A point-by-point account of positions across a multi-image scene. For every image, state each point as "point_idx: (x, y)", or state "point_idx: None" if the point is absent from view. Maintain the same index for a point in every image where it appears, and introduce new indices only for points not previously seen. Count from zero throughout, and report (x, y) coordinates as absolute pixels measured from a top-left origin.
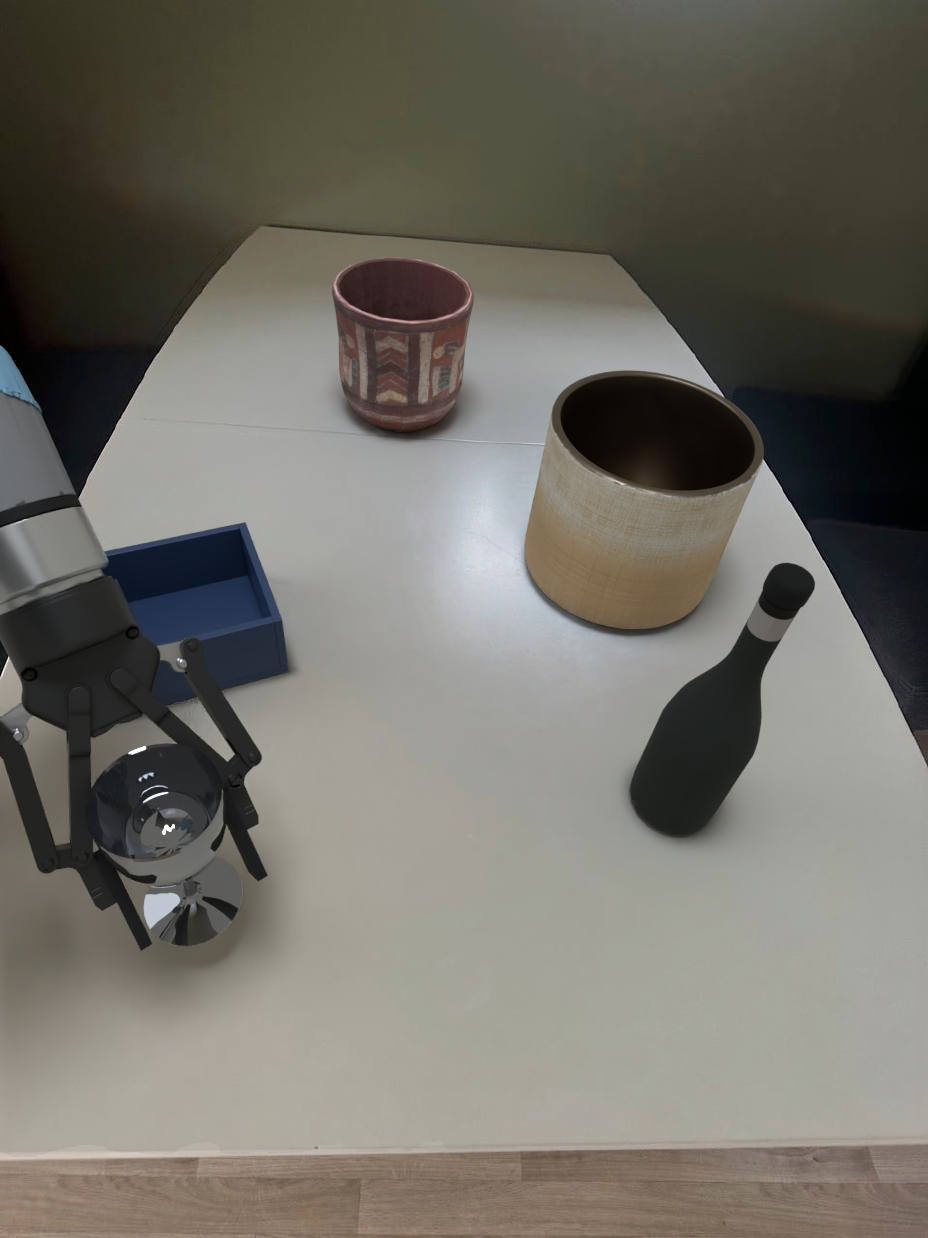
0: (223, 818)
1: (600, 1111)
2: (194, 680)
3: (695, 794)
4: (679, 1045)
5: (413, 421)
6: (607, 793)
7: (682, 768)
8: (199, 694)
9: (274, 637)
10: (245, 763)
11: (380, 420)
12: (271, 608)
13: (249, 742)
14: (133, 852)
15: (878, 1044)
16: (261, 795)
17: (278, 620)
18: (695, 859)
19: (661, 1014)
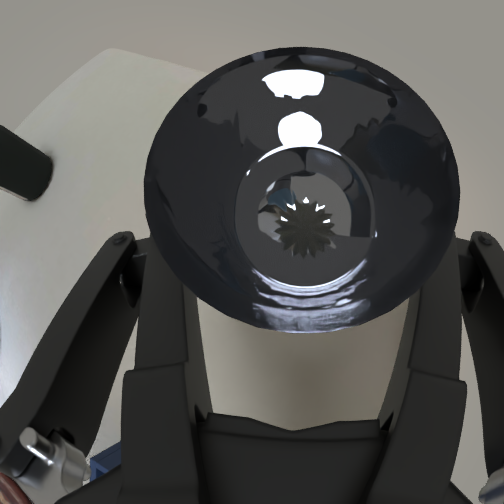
0: (209, 117)
1: (175, 71)
2: (44, 390)
3: (21, 140)
4: (130, 81)
5: (7, 483)
6: (49, 198)
7: (7, 140)
8: (76, 373)
9: (110, 455)
10: (135, 245)
11: (21, 501)
12: (94, 473)
13: (101, 255)
14: (360, 241)
15: (89, 67)
16: (205, 353)
17: (92, 460)
18: (57, 146)
19: (123, 92)
